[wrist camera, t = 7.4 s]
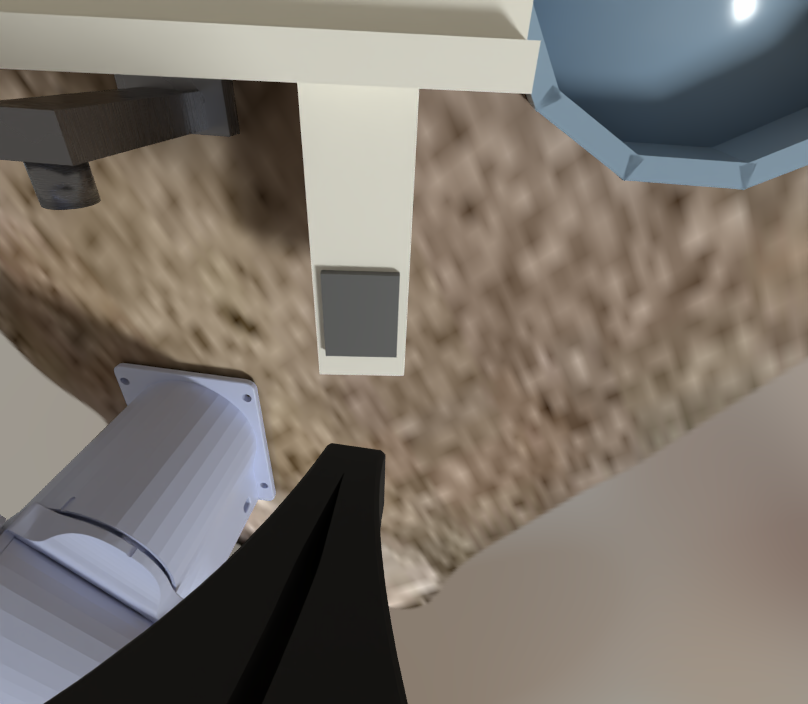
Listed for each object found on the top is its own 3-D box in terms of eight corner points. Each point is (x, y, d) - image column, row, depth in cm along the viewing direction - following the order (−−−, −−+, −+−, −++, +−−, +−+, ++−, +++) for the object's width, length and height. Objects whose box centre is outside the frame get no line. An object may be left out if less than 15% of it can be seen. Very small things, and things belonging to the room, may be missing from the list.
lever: (469, 361, 17) (481, 410, 15) (-199, 346, 16) (-299, 397, 14) (592, -460, 8) (681, -686, 5) (-1017, -624, 7) (-1790, -994, 4)
